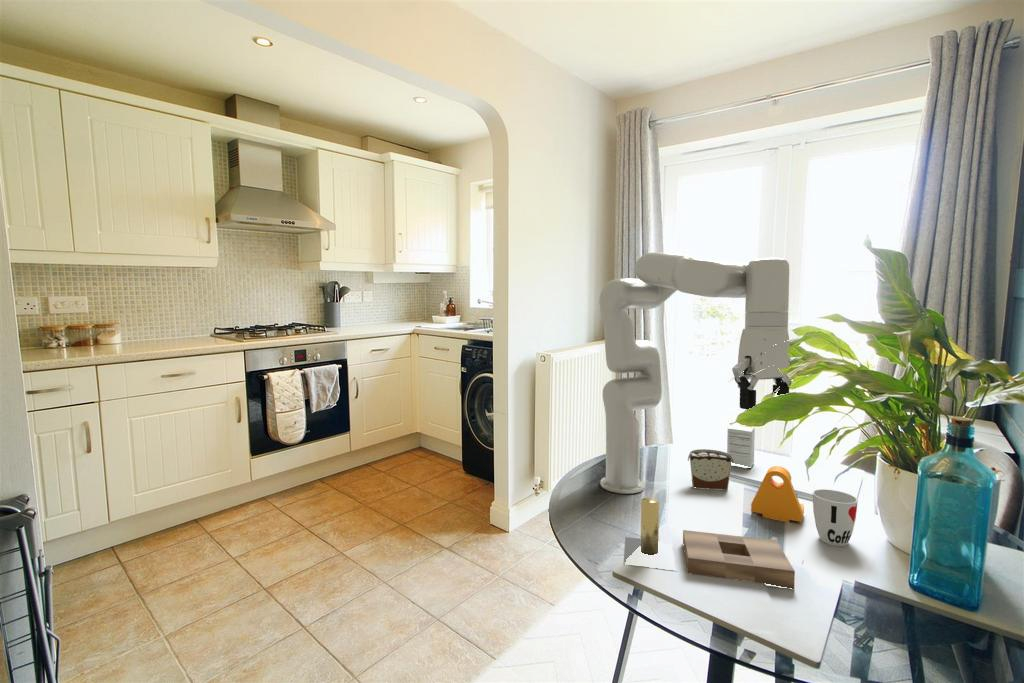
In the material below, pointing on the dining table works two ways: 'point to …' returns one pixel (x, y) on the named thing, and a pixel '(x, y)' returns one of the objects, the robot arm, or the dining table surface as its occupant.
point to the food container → (710, 468)
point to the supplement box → (741, 445)
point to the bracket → (777, 497)
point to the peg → (649, 526)
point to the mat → (631, 546)
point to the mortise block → (737, 558)
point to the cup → (834, 515)
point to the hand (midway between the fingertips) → (764, 407)
